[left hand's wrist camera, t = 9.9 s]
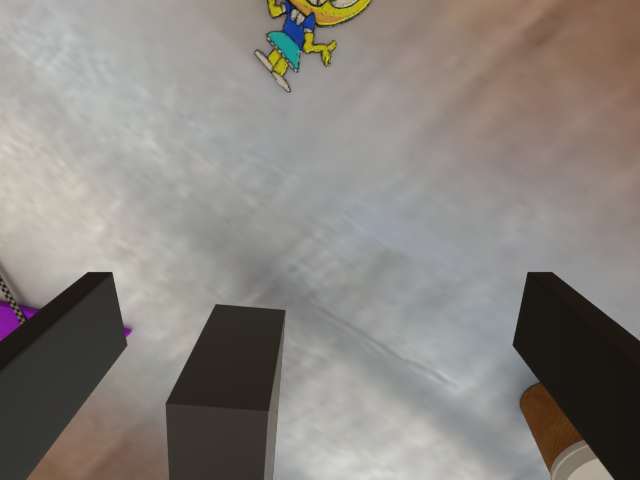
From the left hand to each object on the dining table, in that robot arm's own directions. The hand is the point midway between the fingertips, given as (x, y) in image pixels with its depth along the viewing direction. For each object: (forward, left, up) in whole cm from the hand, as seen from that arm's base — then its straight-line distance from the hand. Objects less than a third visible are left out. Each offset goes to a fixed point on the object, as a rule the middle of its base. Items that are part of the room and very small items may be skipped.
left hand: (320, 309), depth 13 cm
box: (+1, +23, -20) cm, 30 cm away
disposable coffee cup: (-37, +23, -30) cm, 53 cm away
